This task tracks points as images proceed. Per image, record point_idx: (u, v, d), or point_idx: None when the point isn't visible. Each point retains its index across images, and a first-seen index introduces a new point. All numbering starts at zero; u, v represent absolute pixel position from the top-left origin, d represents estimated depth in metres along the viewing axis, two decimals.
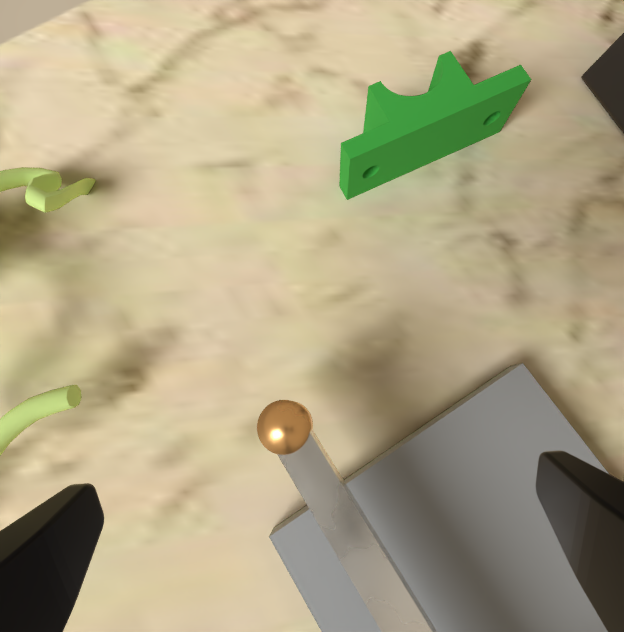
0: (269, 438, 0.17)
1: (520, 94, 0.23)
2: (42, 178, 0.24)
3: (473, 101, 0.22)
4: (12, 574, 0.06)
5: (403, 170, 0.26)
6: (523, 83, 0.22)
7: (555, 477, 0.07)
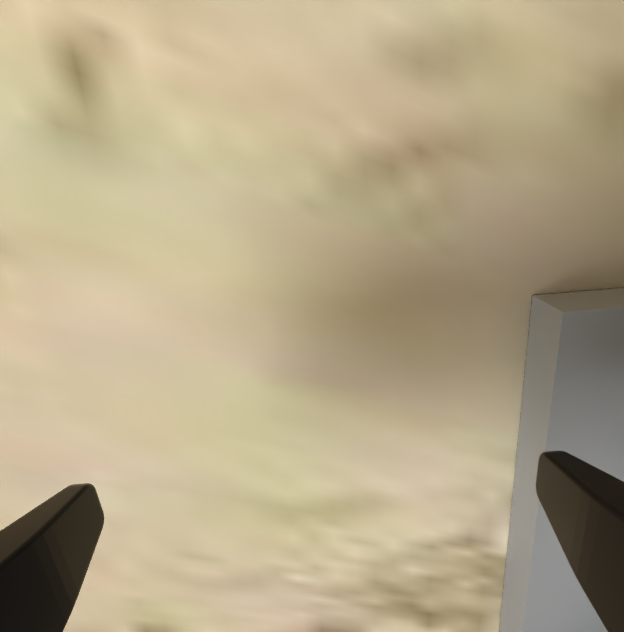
0: None
1: None
2: None
3: None
4: (12, 574, 0.06)
5: None
6: None
7: (555, 477, 0.07)
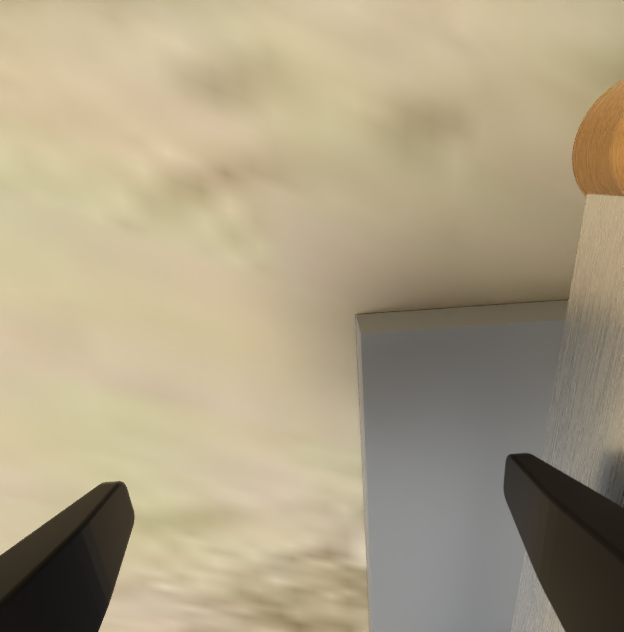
0: None
1: None
2: None
3: None
4: (54, 571, 0.06)
5: None
6: None
7: (519, 480, 0.07)
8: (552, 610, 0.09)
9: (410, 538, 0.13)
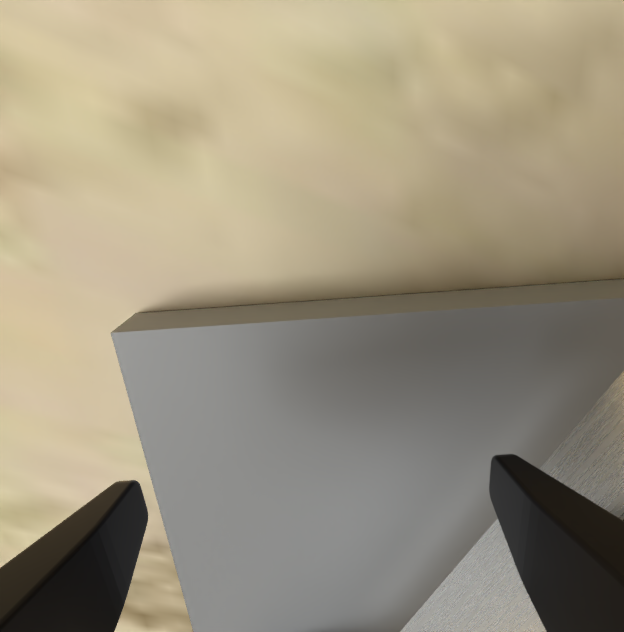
0: None
1: None
2: None
3: None
4: (73, 570, 0.06)
5: None
6: None
7: (504, 480, 0.07)
8: (466, 628, 0.09)
9: (206, 533, 0.13)
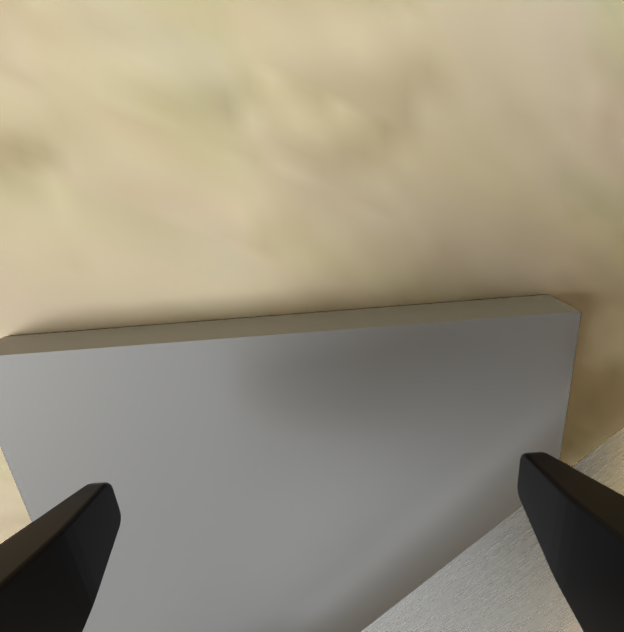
0: None
1: None
2: None
3: None
4: (35, 573, 0.06)
5: None
6: None
7: (535, 478, 0.07)
8: None
9: None
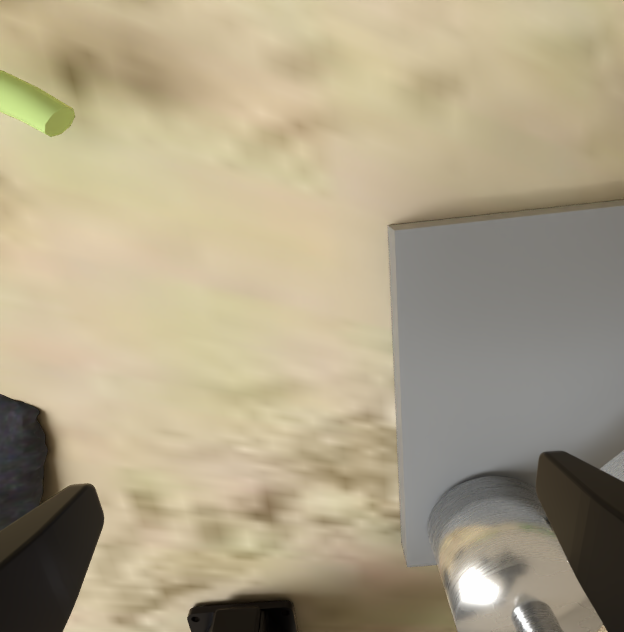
0: None
1: None
2: None
3: None
4: (12, 574, 0.06)
5: None
6: None
7: (555, 477, 0.07)
8: None
9: (430, 387, 0.18)
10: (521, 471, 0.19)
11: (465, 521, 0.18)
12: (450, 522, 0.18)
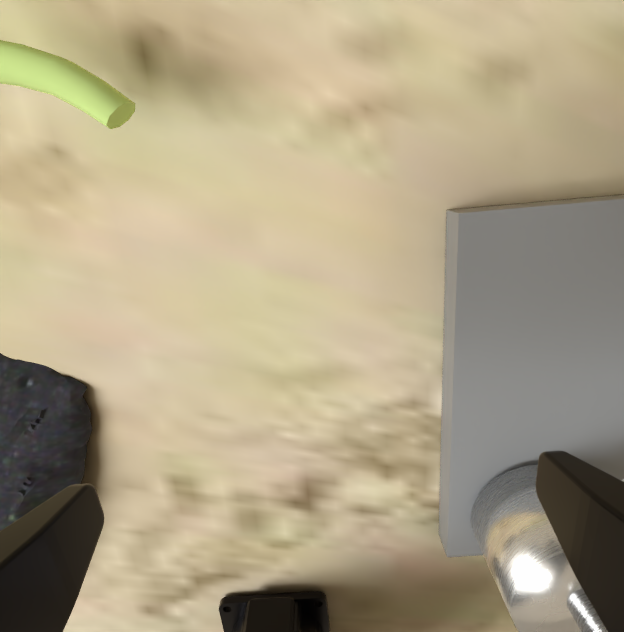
0: None
1: None
2: None
3: None
4: (12, 574, 0.06)
5: None
6: None
7: (555, 477, 0.07)
8: None
9: (482, 373, 0.18)
10: None
11: (516, 507, 0.18)
12: (499, 509, 0.18)
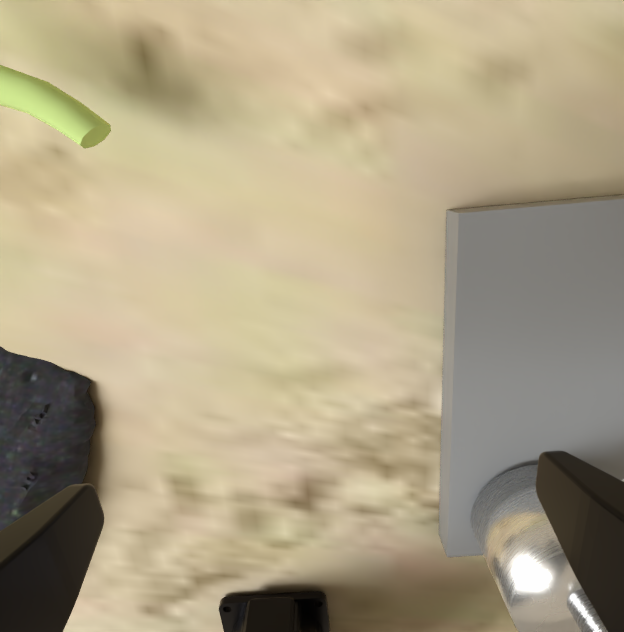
0: None
1: None
2: None
3: None
4: (12, 574, 0.06)
5: None
6: None
7: (555, 477, 0.07)
8: None
9: (482, 373, 0.18)
10: None
11: (516, 507, 0.18)
12: (499, 509, 0.18)
